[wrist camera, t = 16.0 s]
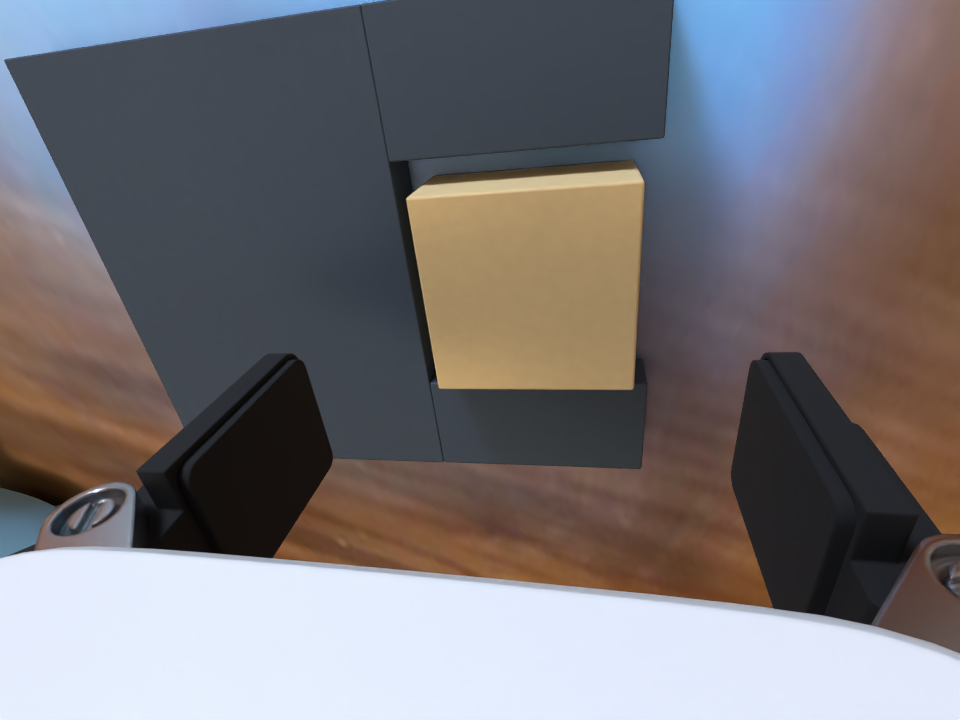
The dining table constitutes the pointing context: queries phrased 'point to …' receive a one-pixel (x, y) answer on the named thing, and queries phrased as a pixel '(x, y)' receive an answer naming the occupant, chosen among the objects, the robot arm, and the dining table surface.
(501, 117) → the u-shaped block
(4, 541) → the decorative pot
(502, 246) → the pad
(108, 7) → the dining table surface
